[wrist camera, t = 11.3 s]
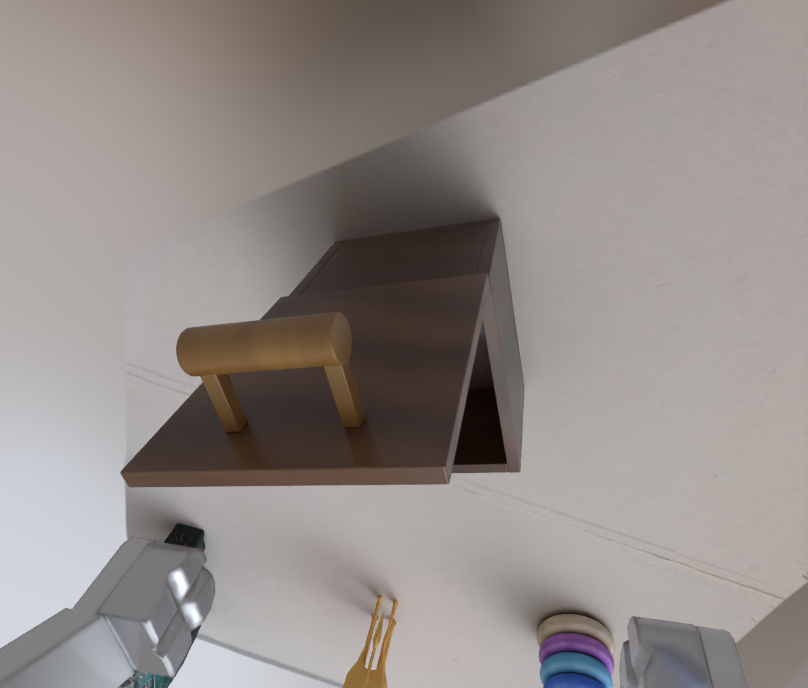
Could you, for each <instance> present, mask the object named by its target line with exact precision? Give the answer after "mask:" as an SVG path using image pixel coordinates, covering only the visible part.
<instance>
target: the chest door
mask: <svg viewBox="0 0 808 688" xmlns="http://www.w3.org/2000/svg"><path fill="white" fill-rule="evenodd" d="M488 289H489V279H488V274H487V273H482V274H473V275H465V276H456V277H448V278H439V279H431V280H422V281H414V282H405V283H397V284H388V285H380V286H372V287H363V288H355V289H346V290H338V291H329V292H321V293H312V294H304V295H295V296H287V297H281V298H280V299H279V300H278V301H277V302H276V303H275V304H274V305H273V306H272V308H271V309H270V310H269V311H268V312H267V313H266V314H265V315H264V316H263V317H262V318H261V319H260V320H257V321H247V322H238V323H229V324H219V325H210V326H200V327H191V328H187V329H185V330H184V331H183V332H182V333H181V334H180V336H179V338H178V341H177V347H176V353H177V359H178V362H179V365H180V366H181V368H182V370H183V371H184V372H185V373H187V374H188V375H191V376H200V377H201V379H202V381H203V383H202V384H201V385H200V386H199V387H198V388H197V389H196V390H195V391H194V392H193V393H192V395H191V396H190V397H189V398H188V399H187V400H186V401H185V402H184V403H183V404H182V405H181V406H180V408H179V409H178V410H177V411H176V412H175V413H174V414H173V415H172V416H171V417H170V418H169V420H168V421H167V422H166V423H165V424H164V425H163V426H162V427H161V428H160V429H159V430H158V432H157V433H156V434H155V435H154V436H153V437H152V438H151V439H150V440H149V441H148V442H147V443H146V445H145V446H144V447H143V448H142V449H141V450H140V451H139V452H138V453H137V454H136V455H135V457H134V458H133V459H132V460H131V461H130V462H129V463H128V464H127V465H126V466H125V467H124V468H123V470H122V471H121V475H122V477H123V478H124V480H125V482H126V483H127V485H128V486H129V487H208V486H313V485H418V484H449V482H450V477H451V473H452V468H453V463H454V458H455V453H456V448H457V443H458V438H459V433H460V428H461V423H462V418H463V413H464V408H465V403H466V398H467V393H468V388H469V383H470V378H471V374H472V369H473V364H474V359H475V354H476V349H477V344H478V339H479V334H480V329H481V324H482V319H483V314H484V309H485V304H486V299H487V294H488Z"/></svg>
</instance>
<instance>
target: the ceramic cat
mask: <svg viewBox="0 0 808 688" xmlns="http://www.w3.org/2000/svg"><path fill="white" fill-rule="evenodd" d="M203 537H204V532H203V531H201V530H198V529H195V528H192V527H188V526H185V525H181V524H178V523H177V524H176V526H175V527H174V529H173V530H172V532H171V533H170V534H169V536H168V537H167V539H166V540H165V541H164V543H168V544H174V545H180V546H186V547H192V548H198V549H202V550H203V552H204V550H205V545H204V542H203ZM200 627H201V625H199V626H198V627H196V628H195V629H194V630H192V631H191V640H192V644H193V642H194V640H195V638H196V636H197V633H198V631H199V629H200ZM191 646H192V645H191ZM191 646H190V648H191ZM190 648H189V650H190ZM189 650H188V652H189ZM188 652H187V654H188ZM187 654H186V656H185V657H184V659H183V661H182V663H181V665H180V667H181V666H182V665H183V663H184V661H185V659H186V657H187ZM180 667H179V668H178V670H177V672H176V674H177V673H178V671H179V669H180ZM133 671H134V670H133ZM176 674H175V676H176ZM175 676H174V677H175ZM174 677H168V676H163V675H157V674H151V673H146V672H140V671H134V674H133V675H132V676H130V677H129V678H128V679H127V680H126V681H125V682H123V683H122V684H121V685H120V686H119V687H118V688H168V686H169V685H170V683H171V682H172V680H173V678H174Z"/></svg>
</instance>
